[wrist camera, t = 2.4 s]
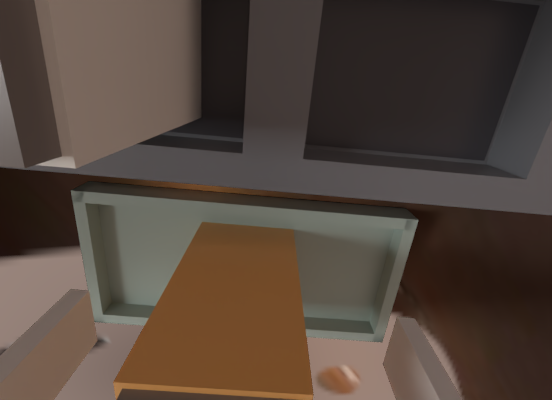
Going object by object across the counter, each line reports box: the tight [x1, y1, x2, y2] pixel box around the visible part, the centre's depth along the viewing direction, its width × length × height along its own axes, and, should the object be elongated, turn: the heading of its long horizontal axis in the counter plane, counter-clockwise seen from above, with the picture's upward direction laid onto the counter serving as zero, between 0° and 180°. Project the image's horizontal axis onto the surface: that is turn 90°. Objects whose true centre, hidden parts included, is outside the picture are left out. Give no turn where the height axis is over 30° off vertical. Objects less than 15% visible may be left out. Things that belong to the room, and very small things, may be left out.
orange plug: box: [113, 222, 313, 400], centre depth 12 cm, size 5×5×10 cm
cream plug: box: [0, 0, 201, 169], centre depth 8 cm, size 5×5×10 cm
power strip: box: [0, 0, 552, 215], centre depth 12 cm, size 32×10×3 cm, turn 85°
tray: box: [71, 181, 418, 342], centre depth 17 cm, size 17×8×2 cm, turn 85°
